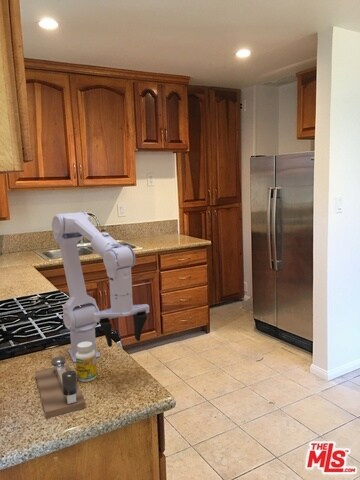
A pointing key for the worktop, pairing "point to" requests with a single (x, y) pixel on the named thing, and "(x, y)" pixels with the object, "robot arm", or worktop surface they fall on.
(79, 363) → the supplement bottle
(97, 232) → the robot arm
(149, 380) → the worktop surface
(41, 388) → the base board
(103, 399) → the worktop surface
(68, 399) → the lever
